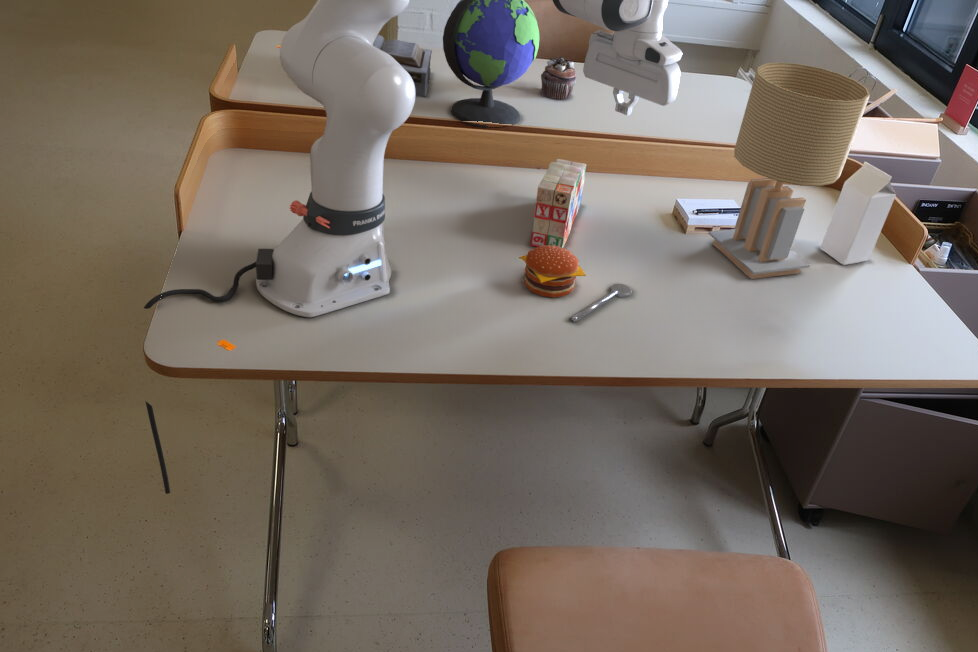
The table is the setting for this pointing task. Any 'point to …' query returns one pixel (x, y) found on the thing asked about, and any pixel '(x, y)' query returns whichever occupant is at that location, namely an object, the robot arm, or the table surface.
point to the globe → (489, 53)
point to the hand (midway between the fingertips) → (623, 112)
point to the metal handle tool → (605, 300)
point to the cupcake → (558, 79)
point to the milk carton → (859, 215)
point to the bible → (409, 60)
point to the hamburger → (551, 271)
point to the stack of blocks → (557, 203)
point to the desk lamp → (788, 159)
